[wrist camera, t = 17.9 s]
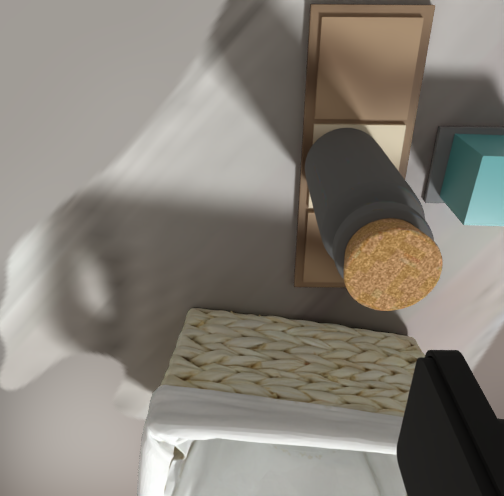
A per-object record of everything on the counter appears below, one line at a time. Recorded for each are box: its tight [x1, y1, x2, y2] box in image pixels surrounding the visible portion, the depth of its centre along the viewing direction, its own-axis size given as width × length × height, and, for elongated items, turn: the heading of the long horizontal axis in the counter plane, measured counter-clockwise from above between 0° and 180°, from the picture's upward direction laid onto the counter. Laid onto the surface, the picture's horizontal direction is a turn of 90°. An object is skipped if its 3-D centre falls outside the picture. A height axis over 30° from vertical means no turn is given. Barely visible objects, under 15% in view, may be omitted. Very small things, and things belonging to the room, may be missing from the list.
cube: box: [440, 134, 504, 226], centre depth 34 cm, size 5×5×5 cm
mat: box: [424, 126, 504, 203], centre depth 37 cm, size 6×6×1 cm
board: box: [294, 4, 435, 287], centre depth 37 cm, size 22×8×1 cm, turn 0°
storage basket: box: [137, 308, 425, 496], centre depth 41 cm, size 24×16×15 cm
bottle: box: [305, 128, 442, 311], centre depth 30 cm, size 6×6×15 cm
